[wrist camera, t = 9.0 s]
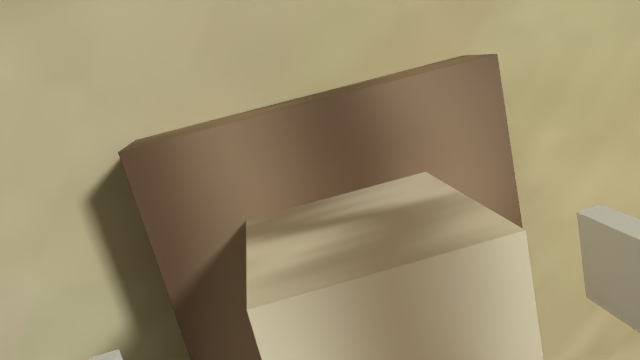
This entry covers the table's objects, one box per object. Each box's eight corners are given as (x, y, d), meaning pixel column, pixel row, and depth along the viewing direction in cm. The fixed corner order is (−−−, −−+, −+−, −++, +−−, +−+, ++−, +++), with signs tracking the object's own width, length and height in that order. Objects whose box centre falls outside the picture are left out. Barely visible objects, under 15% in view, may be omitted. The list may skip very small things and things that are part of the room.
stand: (233, 425, 20) (231, 474, 18) (135, 140, 17) (117, 152, 15) (509, 339, 21) (543, 374, 19) (463, 55, 18) (497, 54, 16)
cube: (292, 380, 17) (316, 539, 11) (246, 220, 16) (246, 309, 10) (455, 331, 18) (557, 459, 12) (425, 171, 16) (525, 230, 10)
